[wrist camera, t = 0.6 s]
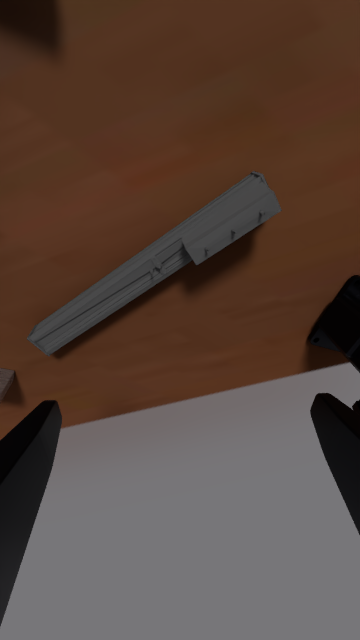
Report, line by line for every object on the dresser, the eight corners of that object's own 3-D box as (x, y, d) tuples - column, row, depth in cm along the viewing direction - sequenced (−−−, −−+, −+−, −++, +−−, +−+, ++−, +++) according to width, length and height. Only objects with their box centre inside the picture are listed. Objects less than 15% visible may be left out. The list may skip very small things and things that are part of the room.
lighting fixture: (62, 343, 23) (45, 380, 20) (36, 321, 22) (14, 357, 18) (269, 207, 19) (296, 223, 15) (252, 169, 18) (277, 177, 14)
